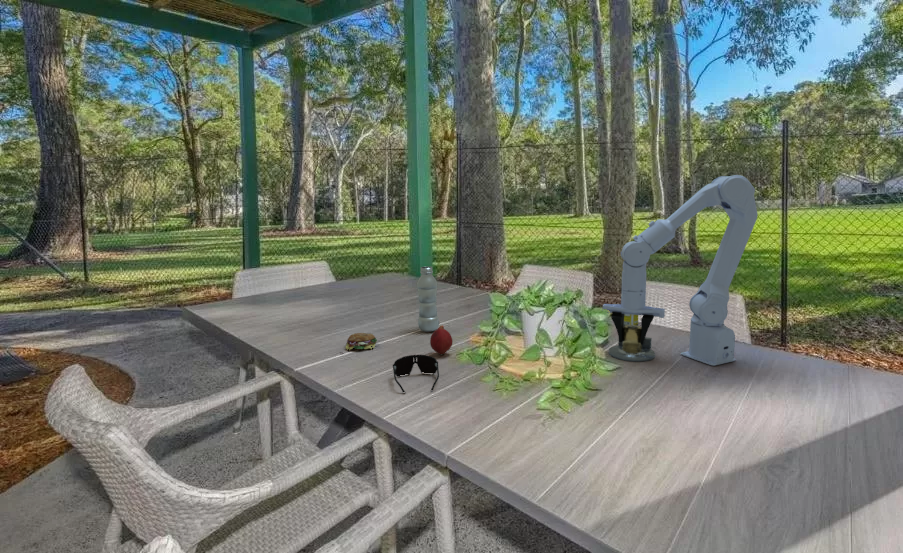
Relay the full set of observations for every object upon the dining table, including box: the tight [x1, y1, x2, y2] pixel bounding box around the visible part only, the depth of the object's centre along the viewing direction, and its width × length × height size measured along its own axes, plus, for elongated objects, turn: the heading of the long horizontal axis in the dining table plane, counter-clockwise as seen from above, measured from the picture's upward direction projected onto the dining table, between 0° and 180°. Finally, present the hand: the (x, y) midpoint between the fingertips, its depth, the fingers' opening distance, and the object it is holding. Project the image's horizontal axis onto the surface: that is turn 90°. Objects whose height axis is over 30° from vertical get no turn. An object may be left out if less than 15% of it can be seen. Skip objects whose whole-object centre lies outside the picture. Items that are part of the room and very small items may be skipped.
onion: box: [429, 324, 453, 355], centre depth 128 cm, size 6×6×8 cm
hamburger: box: [345, 332, 378, 351], centre depth 137 cm, size 14×14×6 cm
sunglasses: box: [392, 354, 440, 393], centre depth 110 cm, size 10×12×5 cm
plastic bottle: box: [416, 266, 440, 333], centre depth 150 cm, size 6×7×20 cm
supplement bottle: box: [624, 314, 639, 326], centre depth 149 cm, size 5×5×8 cm
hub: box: [623, 325, 642, 353], centre depth 125 cm, size 5×5×6 cm
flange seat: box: [608, 336, 656, 363], centre depth 124 cm, size 11×11×3 cm
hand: (631, 342), depth 124 cm, fingers closed on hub, 4 cm apart
